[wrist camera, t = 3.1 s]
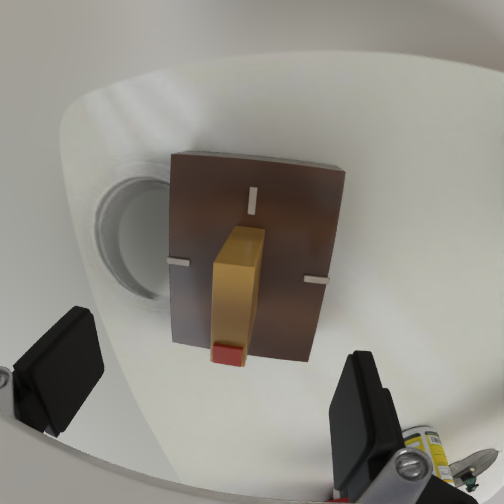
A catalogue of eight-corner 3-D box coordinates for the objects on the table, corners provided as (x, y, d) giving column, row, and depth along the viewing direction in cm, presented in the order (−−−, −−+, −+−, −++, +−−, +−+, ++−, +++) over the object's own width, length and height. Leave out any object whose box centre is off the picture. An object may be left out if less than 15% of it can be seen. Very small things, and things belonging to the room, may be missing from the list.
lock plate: (186, 150, 18) (168, 153, 16) (338, 166, 18) (348, 172, 15) (183, 318, 23) (170, 343, 20) (308, 336, 22) (309, 364, 19)
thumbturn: (234, 225, 17) (211, 264, 12) (265, 228, 16) (254, 270, 12) (229, 307, 18) (208, 365, 14) (256, 310, 18) (244, 370, 13)
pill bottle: (378, 459, 27) (389, 541, 17) (392, 428, 25) (411, 521, 15) (426, 451, 27) (445, 527, 16) (444, 420, 25) (472, 503, 14)
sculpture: (510, 441, 27) (503, 489, 23) (474, 442, 35) (468, 484, 31) (454, 458, 27) (445, 510, 23) (419, 453, 35) (413, 499, 31)
